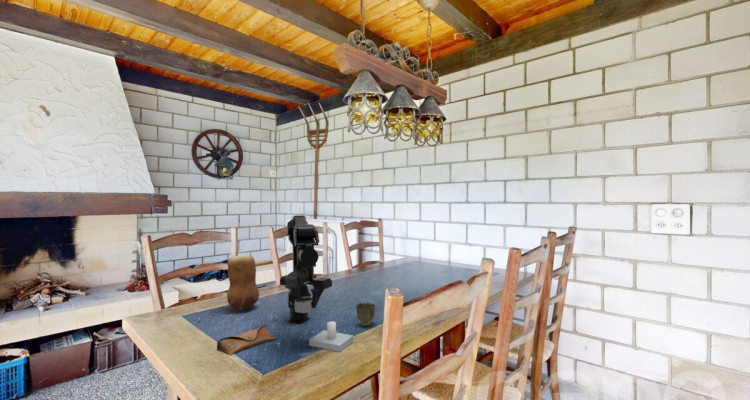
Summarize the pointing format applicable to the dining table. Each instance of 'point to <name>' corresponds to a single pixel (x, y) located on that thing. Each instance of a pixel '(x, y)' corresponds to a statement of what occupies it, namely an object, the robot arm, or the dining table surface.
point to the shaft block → (331, 339)
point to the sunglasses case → (244, 340)
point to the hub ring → (304, 305)
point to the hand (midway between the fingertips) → (305, 306)
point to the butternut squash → (242, 282)
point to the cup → (365, 313)
